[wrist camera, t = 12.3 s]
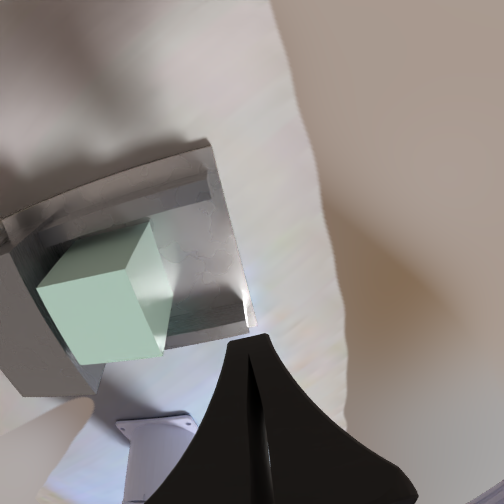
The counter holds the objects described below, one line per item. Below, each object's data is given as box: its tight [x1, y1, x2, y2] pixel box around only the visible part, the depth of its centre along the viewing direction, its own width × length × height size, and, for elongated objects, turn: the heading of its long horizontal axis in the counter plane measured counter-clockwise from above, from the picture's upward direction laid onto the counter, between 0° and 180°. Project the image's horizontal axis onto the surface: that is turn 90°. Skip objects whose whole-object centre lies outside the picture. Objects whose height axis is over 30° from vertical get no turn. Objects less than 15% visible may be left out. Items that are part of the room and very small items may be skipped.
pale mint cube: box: [36, 222, 173, 365], centre depth 16 cm, size 5×5×6 cm
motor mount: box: [0, 145, 258, 397], centre depth 16 cm, size 13×18×6 cm
